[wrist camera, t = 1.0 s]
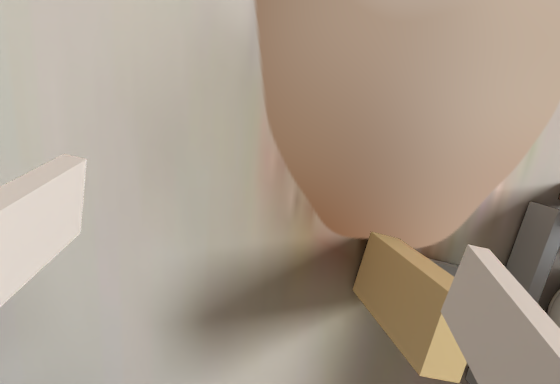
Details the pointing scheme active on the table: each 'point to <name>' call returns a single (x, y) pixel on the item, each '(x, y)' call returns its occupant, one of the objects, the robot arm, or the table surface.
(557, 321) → the lidded jar
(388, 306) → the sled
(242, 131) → the table surface
